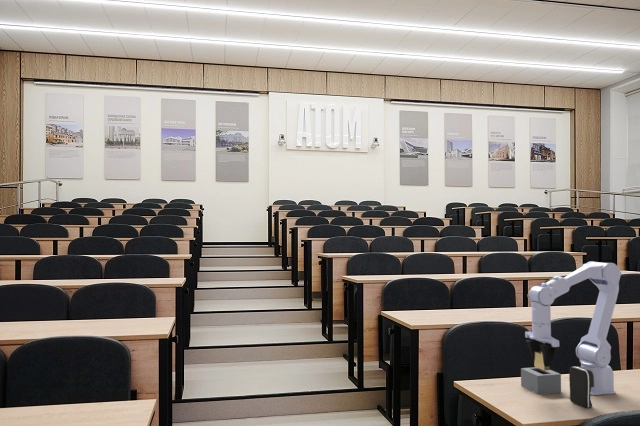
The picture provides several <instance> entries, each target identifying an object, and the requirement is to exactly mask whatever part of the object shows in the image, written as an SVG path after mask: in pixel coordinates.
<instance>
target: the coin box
mask: <svg viewBox="0 0 640 426" xmlns="http://www.w3.org/2000/svg"><path fill="white" fill-rule="evenodd" d="M520 385H521V386H522V387H523V388H525V389H527V390H529V391H531V392H534V393H535V394H537V395H541V394H542V395H543V394H554V393H562V375H561V373H559V372H557V371H554V370H551V369H550V370H546V371H544V370H542V369H539V368H537V367H535V366H534V367H523V368H520Z"/></svg>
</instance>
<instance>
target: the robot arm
mask: <svg viewBox="0 0 640 426" xmlns="http://www.w3.org/2000/svg"><path fill="white" fill-rule="evenodd" d="M621 276H622V271H621V270H620V268H619V267H618V265H617V264H616V263H614V262H601V261H600V262H598V261H593V260H591V261H588V262H586V263H583V264H582V266H581V267H579V268H577V269H576V270H574V271H572V272H571V273H569V274H568V275H565V276H558V275H557V276H556V275H555V276H553V277H552V279H551V280H549V281H547V282H542V283H541V285H540V286H539V285H536V286H535V285H533V286H532V287H531V288H530V290H529V292H528V294H526V295H527V298H528V300H529V302H530V307H531V331H525V332H524V337H525V338H527V339H526V340H525V344H526V345H527V346H528V349H529V351H530V355H531V359H532V362H533V363H534V351H540V352H542V354H543V363H544V366H545V367H548V366H550V367H552V364H553V359H554V356H555V354H556V352H557V351H558V349H559V347H560V340H559V339H556V338H554V337H552V328H551V327H552V325H551V324H552V323H551V321H552V319H551V313H552V312H551V305H552V304H553V303H554V302H555V300H556V299H557V298H558V297H561V296H562V295H564V294H566V293H569V291H570V288H571V287H572V286H574V285H576V284H579V283H581V282H583V281H586V280H587V279H589V281H591V282H592V284H593V285H595V286H596V287H597V288H598V289H597V290H599V292H598V296H597V299H596V303H595V306H594V310H593V314H592V318H591V321H590V325H589V328H588V331H587V332H588V333H587V334H585V335H584V336H582V337H581V338H580V342H579V343H578V345H577V346H576V347H575V355H576V357H577V358H578V359H579V363H580V367H583V368H586V369H589V370H591V371H592V373H593V375H594V387H591V392H590V396H599V395H611V394H612V395H613V394H617V393H616V391H615V390H614V389H615V384H614V383H615V382H614V381H615V378H614V377H615V374H614V371H613V369H612V367H611V366H610V365H609V364H610V361H611V359H612V354H611V349H612V346H611V344H610V343H609V342H608V340H607V337H608V333H609V329H610V325H611V322H612V317H613V314H614V309H615V307H616V303H617V300H618V294H619V291H620V279H621Z"/></svg>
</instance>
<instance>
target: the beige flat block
mask: <svg viewBox="0 0 640 426" xmlns="http://www.w3.org/2000/svg"><path fill="white" fill-rule="evenodd" d="M533 364H534V367H537V368H539V369H542V370H544V371H546V370H551V369H550V367H551V366H548V367H545V366H544V363H543V354H542V351H541V352H540V351H534V362H533Z"/></svg>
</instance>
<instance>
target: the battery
mask: <svg viewBox="0 0 640 426" xmlns="http://www.w3.org/2000/svg"><path fill="white" fill-rule="evenodd" d="M568 372H569V373H568V374H569V375H568V376H569V378H568V379H569V382H568V383H569V401H570V402H572V403H574V404H577V405H578V406H581V407H582V408H583V407H584V408H592V407H593V403H592V399H591V394H590V392H591V387H594V375H593V373H592V371H591V370H589V369H586V368H583V367H581V366H571V367H570V368H569V371H568Z"/></svg>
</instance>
